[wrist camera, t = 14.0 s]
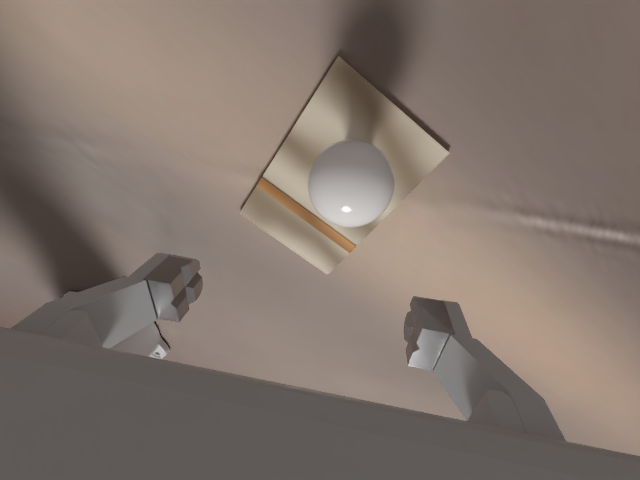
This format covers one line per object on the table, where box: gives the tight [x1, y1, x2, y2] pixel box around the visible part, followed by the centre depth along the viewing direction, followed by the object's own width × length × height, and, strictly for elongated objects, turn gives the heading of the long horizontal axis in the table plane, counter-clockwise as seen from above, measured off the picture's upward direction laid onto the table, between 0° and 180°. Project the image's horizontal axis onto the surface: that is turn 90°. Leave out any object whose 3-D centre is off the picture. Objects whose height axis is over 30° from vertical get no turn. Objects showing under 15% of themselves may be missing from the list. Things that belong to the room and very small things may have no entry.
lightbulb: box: [308, 139, 395, 227], centre depth 23 cm, size 6×6×11 cm
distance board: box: [240, 56, 449, 275], centre depth 30 cm, size 19×13×1 cm
